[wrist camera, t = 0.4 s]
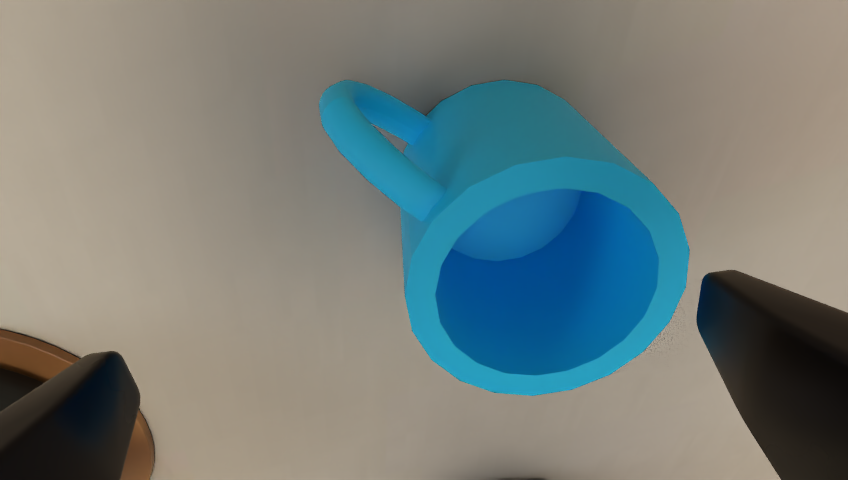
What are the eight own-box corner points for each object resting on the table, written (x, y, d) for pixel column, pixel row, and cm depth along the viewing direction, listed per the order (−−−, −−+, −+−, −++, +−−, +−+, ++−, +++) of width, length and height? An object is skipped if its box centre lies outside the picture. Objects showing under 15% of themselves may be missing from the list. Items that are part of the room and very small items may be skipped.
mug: (635, 156, 23) (748, 258, 16) (508, 291, 26) (554, 429, 19) (396, -35, 19) (403, -14, 12) (278, 152, 22) (226, 259, 15)
